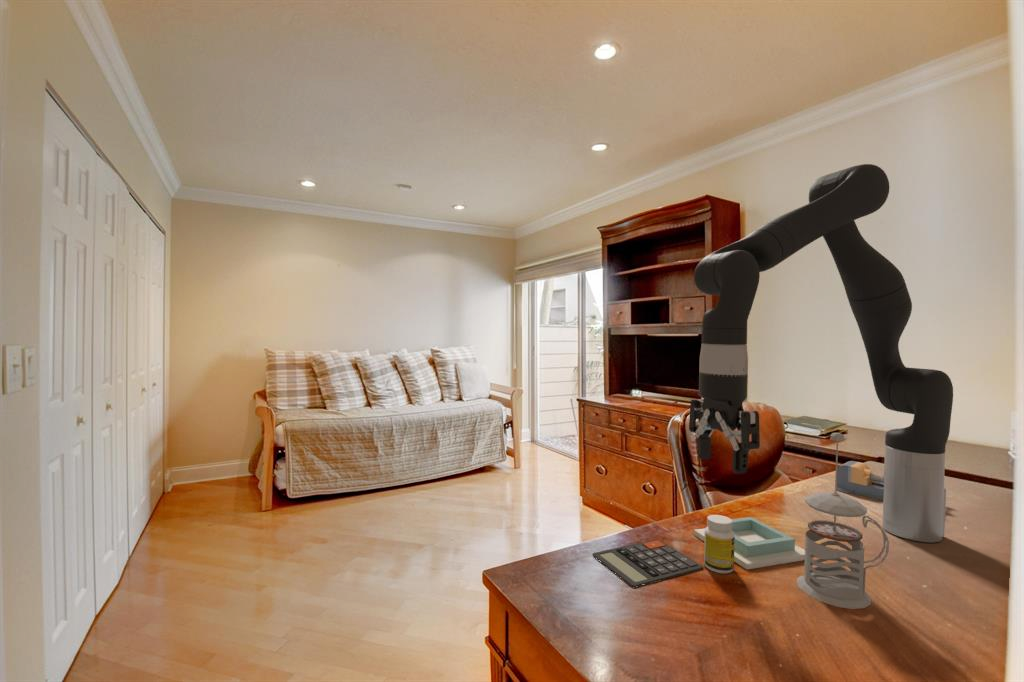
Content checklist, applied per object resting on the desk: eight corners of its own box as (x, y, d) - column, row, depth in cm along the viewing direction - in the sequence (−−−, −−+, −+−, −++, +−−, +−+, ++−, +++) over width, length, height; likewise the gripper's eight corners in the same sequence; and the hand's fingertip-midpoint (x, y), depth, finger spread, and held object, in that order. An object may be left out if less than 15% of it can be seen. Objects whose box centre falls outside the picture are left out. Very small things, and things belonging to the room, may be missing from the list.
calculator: (704, 565, 81) (633, 584, 75) (704, 571, 81) (633, 590, 75) (657, 537, 92) (591, 552, 86) (657, 542, 92) (591, 557, 86)
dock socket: (751, 526, 98) (751, 512, 98) (811, 558, 85) (811, 542, 85) (693, 534, 95) (693, 519, 94) (746, 569, 81) (747, 552, 81)
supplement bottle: (737, 575, 79) (738, 526, 79) (706, 572, 80) (707, 523, 80) (730, 561, 84) (731, 514, 84) (701, 559, 85) (702, 512, 84)
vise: (832, 491, 121) (832, 464, 120) (846, 482, 127) (847, 458, 127) (924, 513, 107) (925, 483, 106) (935, 502, 113) (936, 474, 113)
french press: (793, 568, 82) (797, 423, 81) (876, 585, 77) (882, 430, 76) (800, 598, 73) (804, 436, 72) (895, 619, 68) (901, 444, 67)
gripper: (774, 374, 75) (772, 476, 76) (713, 366, 89) (711, 453, 89) (735, 375, 73) (732, 480, 73) (678, 367, 87) (676, 455, 87)
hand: (720, 465), depth 81 cm, fingers open, 8 cm apart
